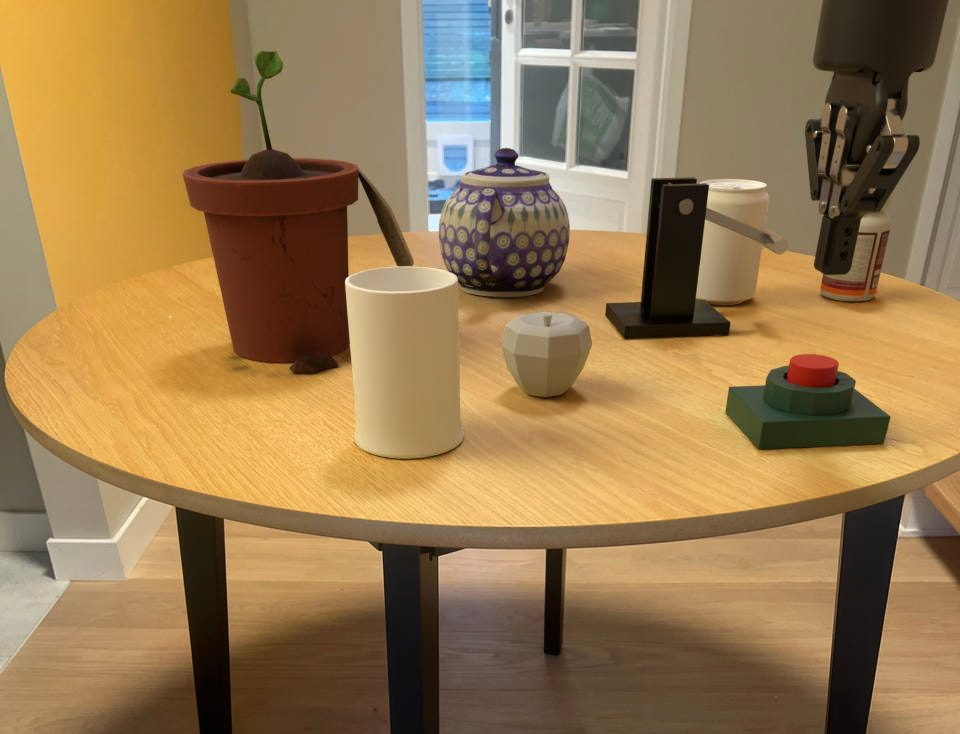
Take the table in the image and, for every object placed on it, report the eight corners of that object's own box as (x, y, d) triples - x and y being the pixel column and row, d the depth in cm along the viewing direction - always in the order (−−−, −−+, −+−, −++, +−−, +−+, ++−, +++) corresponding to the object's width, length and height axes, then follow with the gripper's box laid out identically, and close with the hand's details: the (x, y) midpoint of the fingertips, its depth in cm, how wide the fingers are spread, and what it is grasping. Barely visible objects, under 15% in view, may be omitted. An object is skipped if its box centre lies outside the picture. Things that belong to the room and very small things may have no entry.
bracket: (702, 311, 104) (720, 173, 96) (729, 335, 96) (750, 187, 89) (605, 315, 103) (614, 175, 95) (623, 338, 96) (635, 190, 88)
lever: (763, 250, 99) (774, 227, 98) (781, 261, 95) (793, 237, 94) (653, 204, 95) (663, 179, 94) (667, 213, 91) (678, 187, 90)
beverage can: (742, 310, 104) (759, 192, 97) (672, 301, 108) (684, 186, 101) (762, 294, 110) (780, 181, 103) (696, 286, 113) (709, 176, 107)
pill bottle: (853, 287, 112) (874, 183, 106) (886, 300, 107) (911, 192, 101) (808, 291, 111) (827, 186, 105) (839, 304, 106) (862, 195, 100)
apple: (593, 407, 79) (598, 328, 76) (499, 406, 79) (500, 328, 76) (586, 376, 86) (590, 302, 82) (499, 376, 86) (500, 302, 82)
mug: (372, 403, 80) (362, 254, 74) (472, 405, 80) (470, 256, 73) (344, 458, 71) (329, 292, 64) (458, 461, 70) (454, 294, 63)
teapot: (544, 319, 102) (549, 165, 93) (409, 310, 105) (403, 161, 97) (584, 267, 122) (591, 137, 113) (470, 261, 125) (469, 134, 117)
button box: (840, 407, 79) (850, 359, 77) (884, 443, 72) (897, 392, 70) (724, 412, 78) (731, 364, 76) (758, 449, 72) (767, 398, 69)
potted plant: (264, 314, 104) (229, 47, 90) (451, 329, 99) (445, 48, 85) (179, 363, 90) (121, 55, 76) (392, 382, 85) (372, 56, 71)
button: (823, 374, 75) (827, 352, 74) (842, 390, 72) (846, 367, 71) (779, 376, 75) (783, 354, 74) (796, 391, 72) (800, 369, 71)
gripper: (1004, -21, 54) (924, 293, 63) (895, -15, 65) (842, 252, 74) (878, -21, 53) (817, 296, 63) (790, -15, 64) (750, 254, 74)
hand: (830, 272), depth 69 cm, fingers closed
